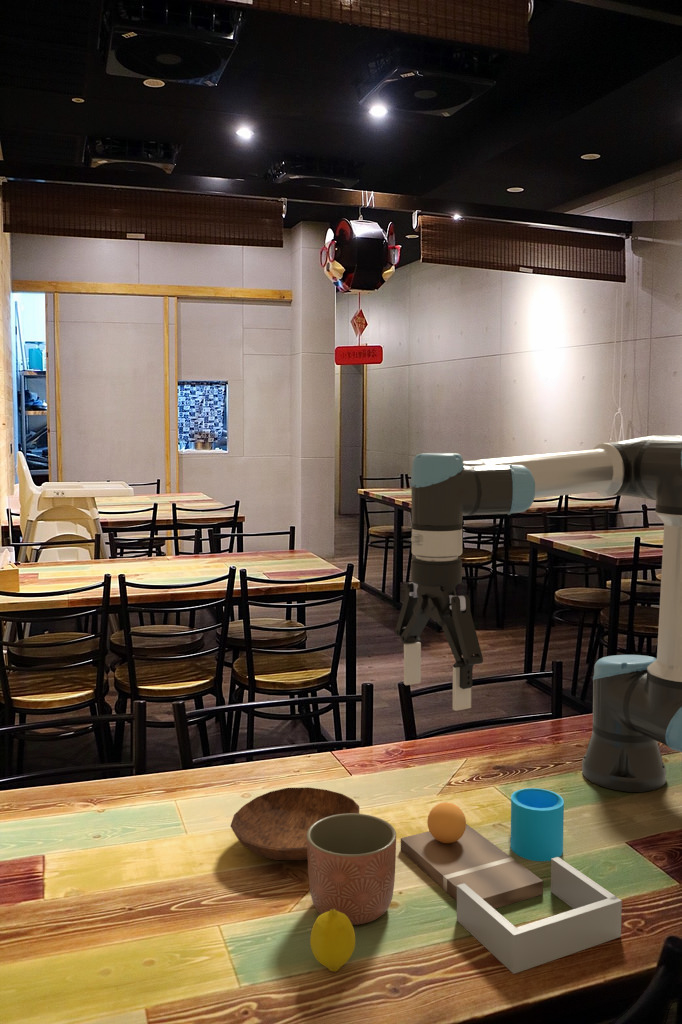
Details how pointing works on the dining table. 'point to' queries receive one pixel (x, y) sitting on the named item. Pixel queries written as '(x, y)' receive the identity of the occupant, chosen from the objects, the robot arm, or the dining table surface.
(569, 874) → the grey frame
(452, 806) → the ball
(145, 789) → the dining table surface
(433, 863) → the board
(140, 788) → the dining table surface
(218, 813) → the dining table surface
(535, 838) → the mug
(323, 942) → the fruit
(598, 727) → the robot arm
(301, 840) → the bowl
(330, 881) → the planter
